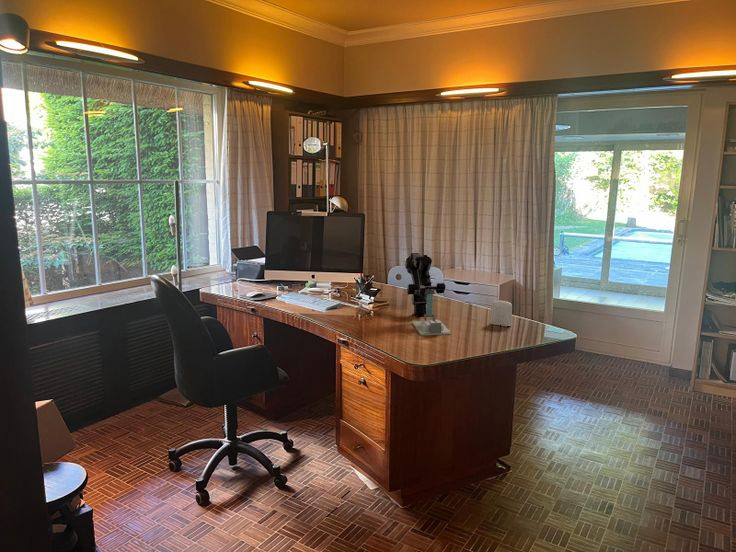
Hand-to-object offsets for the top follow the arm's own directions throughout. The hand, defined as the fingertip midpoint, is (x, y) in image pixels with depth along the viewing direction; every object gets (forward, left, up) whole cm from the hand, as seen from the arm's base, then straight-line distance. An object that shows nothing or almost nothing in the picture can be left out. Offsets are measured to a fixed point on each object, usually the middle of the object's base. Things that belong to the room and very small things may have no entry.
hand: (428, 302), depth 263 cm
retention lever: (+2, -1, -6) cm, 6 cm away
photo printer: (+21, +29, -12) cm, 38 cm away
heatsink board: (+5, -3, -12) cm, 13 cm away
